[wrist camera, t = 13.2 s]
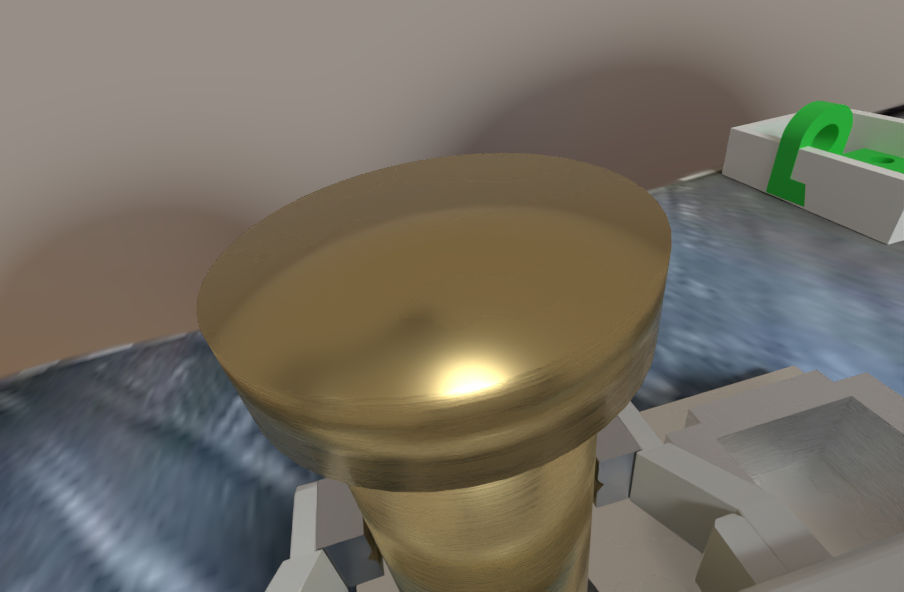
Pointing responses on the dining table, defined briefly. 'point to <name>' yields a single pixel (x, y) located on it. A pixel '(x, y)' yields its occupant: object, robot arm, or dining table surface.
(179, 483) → the dining table surface
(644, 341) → the brass flanged pin
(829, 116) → the mechanical part
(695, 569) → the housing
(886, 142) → the parts tray
